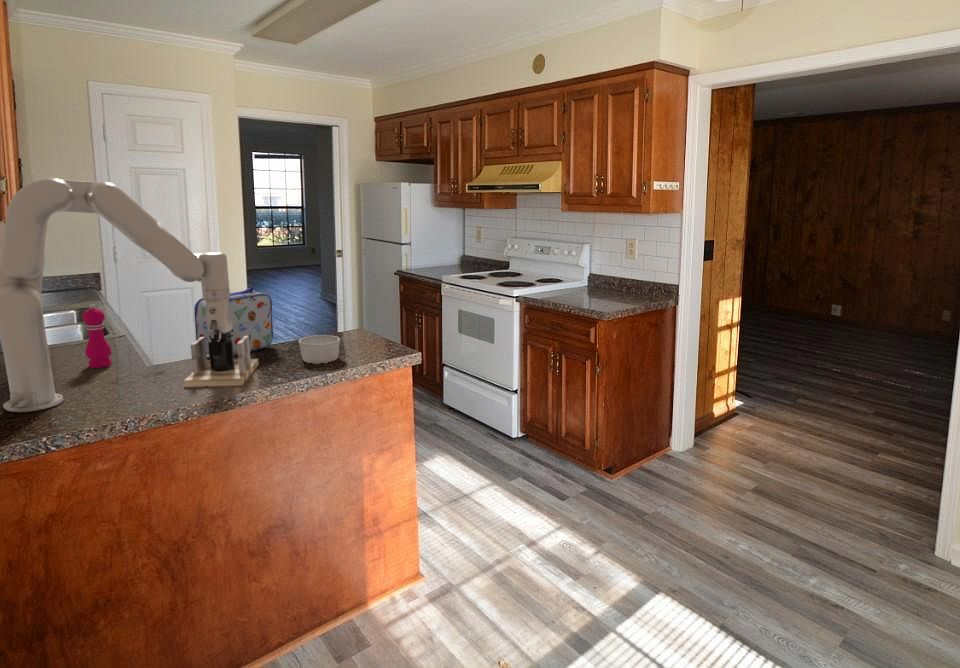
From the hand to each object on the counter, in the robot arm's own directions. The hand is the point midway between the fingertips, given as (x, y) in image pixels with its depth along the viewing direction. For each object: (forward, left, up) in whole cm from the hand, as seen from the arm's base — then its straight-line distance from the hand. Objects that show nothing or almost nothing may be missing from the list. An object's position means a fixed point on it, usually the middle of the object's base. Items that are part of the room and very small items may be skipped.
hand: (221, 350), depth 192 cm
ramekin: (+15, -27, -8) cm, 32 cm away
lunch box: (+28, +2, -8) cm, 29 cm away
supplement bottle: (0, 0, -6) cm, 6 cm away
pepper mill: (+16, +42, -8) cm, 46 cm away
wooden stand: (0, 0, -8) cm, 8 cm away
